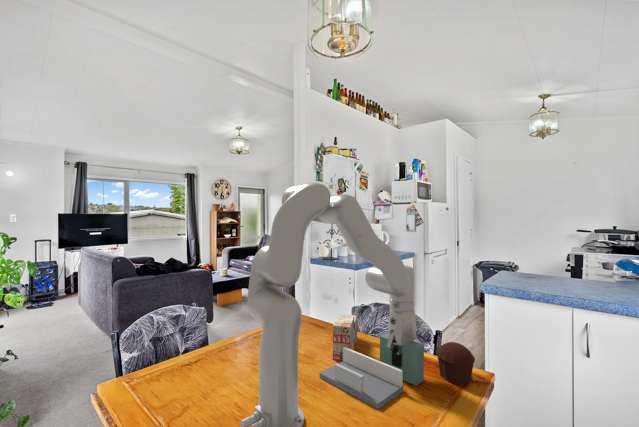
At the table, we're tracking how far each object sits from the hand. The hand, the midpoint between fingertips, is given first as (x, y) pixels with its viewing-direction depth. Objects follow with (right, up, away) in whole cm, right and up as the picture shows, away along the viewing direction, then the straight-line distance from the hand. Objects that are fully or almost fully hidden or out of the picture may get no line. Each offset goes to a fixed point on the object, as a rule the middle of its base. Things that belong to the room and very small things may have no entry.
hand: (401, 362), depth 99 cm
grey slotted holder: (-14, -4, -5) cm, 15 cm away
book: (0, -4, 0) cm, 4 cm away
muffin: (+17, -4, 0) cm, 17 cm away
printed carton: (-16, -4, +21) cm, 26 cm away
